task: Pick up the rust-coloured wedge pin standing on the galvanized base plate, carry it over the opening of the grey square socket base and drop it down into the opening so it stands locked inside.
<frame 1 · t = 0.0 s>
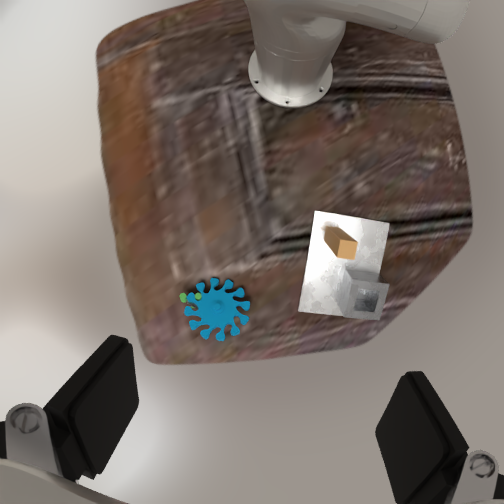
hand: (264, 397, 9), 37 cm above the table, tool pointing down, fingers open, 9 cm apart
gear: (218, 297, 48), on the table
grey square socket base: (343, 266, 45), on the table
wedge pin: (331, 233, 43), point 1 cm above the table, touching grey square socket base
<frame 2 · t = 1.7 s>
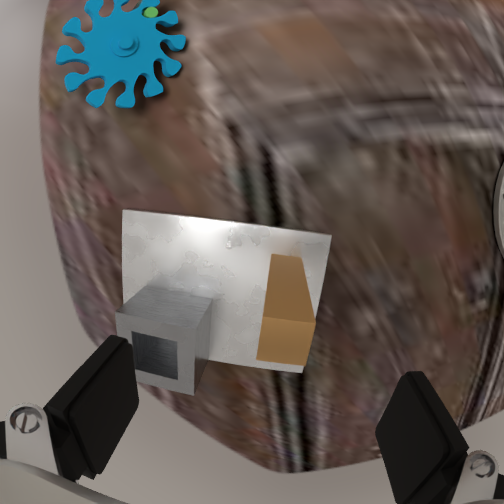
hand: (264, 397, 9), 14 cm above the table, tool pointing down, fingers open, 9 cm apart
gear: (146, 56, 20), on the table
grey square socket base: (216, 293, 24), on the table
wedge pin: (284, 270, 22), point 1 cm above the table, touching grey square socket base
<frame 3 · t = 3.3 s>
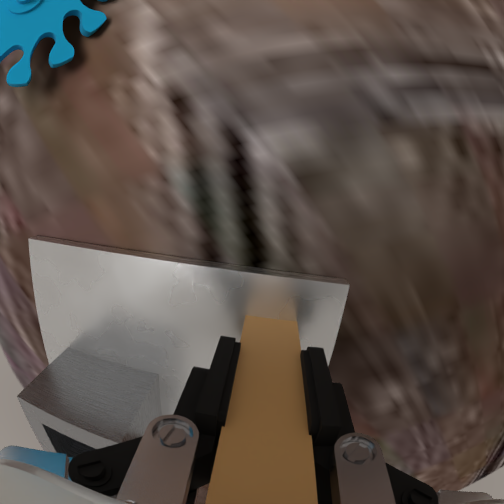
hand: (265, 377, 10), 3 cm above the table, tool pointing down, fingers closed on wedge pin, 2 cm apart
gear: (69, 16, 10), on the table
grey square socket base: (164, 364, 14), on the table
wedge pin: (267, 340, 13), point 1 cm above the table, touching gripper, grey square socket base
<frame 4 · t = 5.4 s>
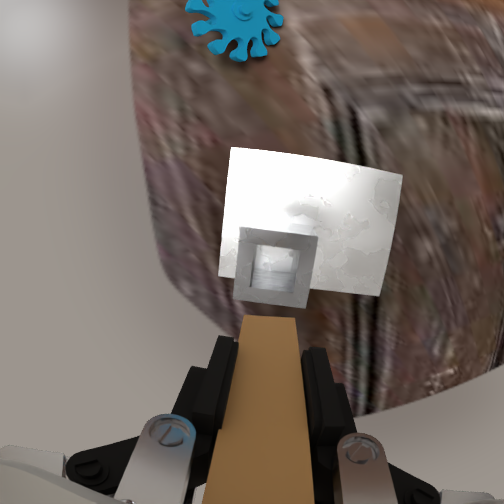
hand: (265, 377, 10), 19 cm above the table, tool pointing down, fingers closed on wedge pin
gear: (244, 26, 23), on the table
grey square socket base: (311, 223, 27), on the table
wedge pin: (267, 338, 13), point 16 cm above the table, touching gripper
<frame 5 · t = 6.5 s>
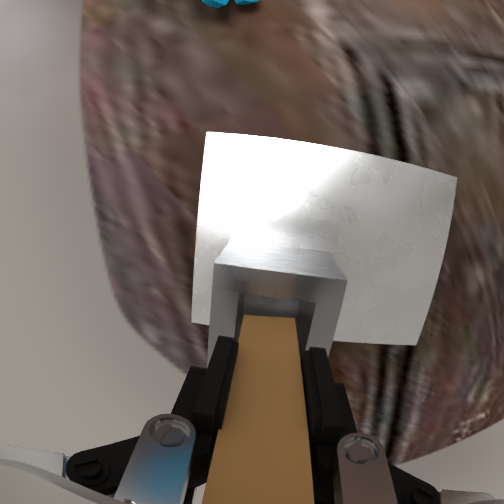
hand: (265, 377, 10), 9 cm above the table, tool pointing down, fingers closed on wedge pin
grey square socket base: (328, 247, 18), on the table
wedge pin: (267, 338, 13), point 6 cm above the table, touching gripper
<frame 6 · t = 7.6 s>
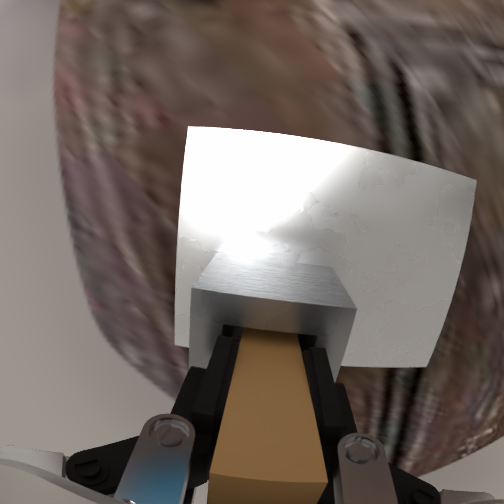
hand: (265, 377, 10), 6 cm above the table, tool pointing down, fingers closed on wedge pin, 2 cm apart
grey square socket base: (331, 261, 15), on the table
wedge pin: (266, 334, 14), point 2 cm above the table, tilted 7°, touching gripper
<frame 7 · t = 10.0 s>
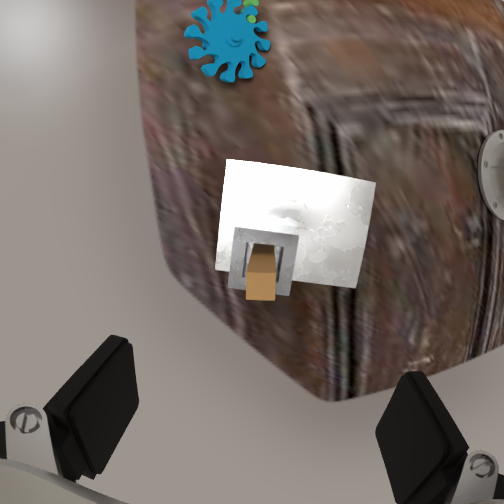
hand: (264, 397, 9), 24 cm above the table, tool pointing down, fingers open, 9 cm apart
gear: (236, 48, 28), on the table
grey square socket base: (295, 224, 32), on the table
wedge pin: (263, 253, 32), point 1 cm above the table, touching grey square socket base
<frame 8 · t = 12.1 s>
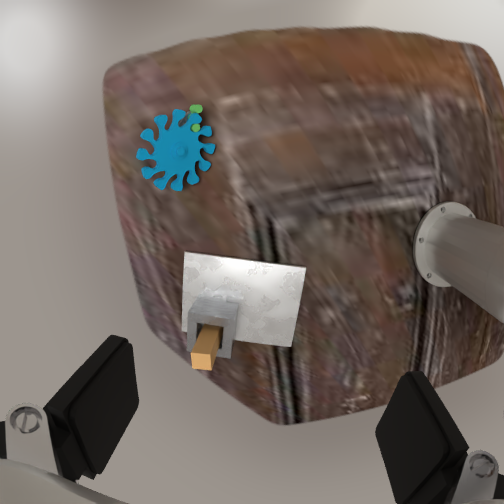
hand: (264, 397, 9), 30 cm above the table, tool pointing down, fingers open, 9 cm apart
gear: (188, 149, 37), on the table
grey square socket base: (240, 300, 41), on the table
wedge pin: (216, 321, 41), point 1 cm above the table, touching grey square socket base
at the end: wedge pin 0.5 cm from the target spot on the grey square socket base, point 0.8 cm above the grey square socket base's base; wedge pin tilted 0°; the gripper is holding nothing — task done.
